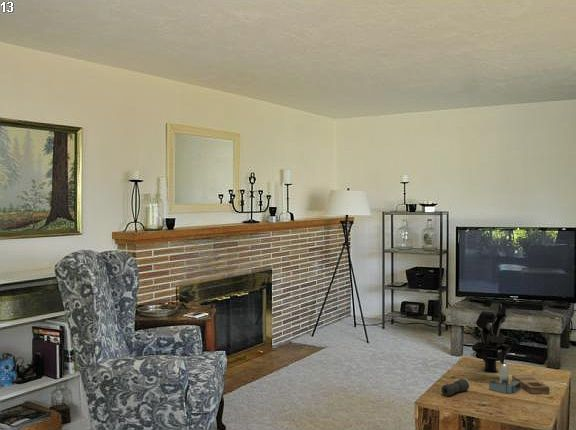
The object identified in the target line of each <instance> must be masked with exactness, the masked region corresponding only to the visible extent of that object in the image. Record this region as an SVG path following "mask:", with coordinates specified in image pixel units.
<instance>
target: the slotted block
mask: <svg viewBox="0 0 576 430" xmlns="http://www.w3.org/2000/svg"><path fill="white" fill-rule="evenodd" d="M512 381H519V382H520V389H523V390H524V389H525V390H524V391H526V392H528V393H529V394H530V395H541V394H543V395H546V394H547V395H548V394H550V387H549V385H546V384H545V383H543V382H541V381H540V380H538V379H536V378H535V377H533V376H531V375H530V374H521V375H520V374H519V375H518V374H517V375H516V374H513V375H512V376H511V382H512Z"/></svg>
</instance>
